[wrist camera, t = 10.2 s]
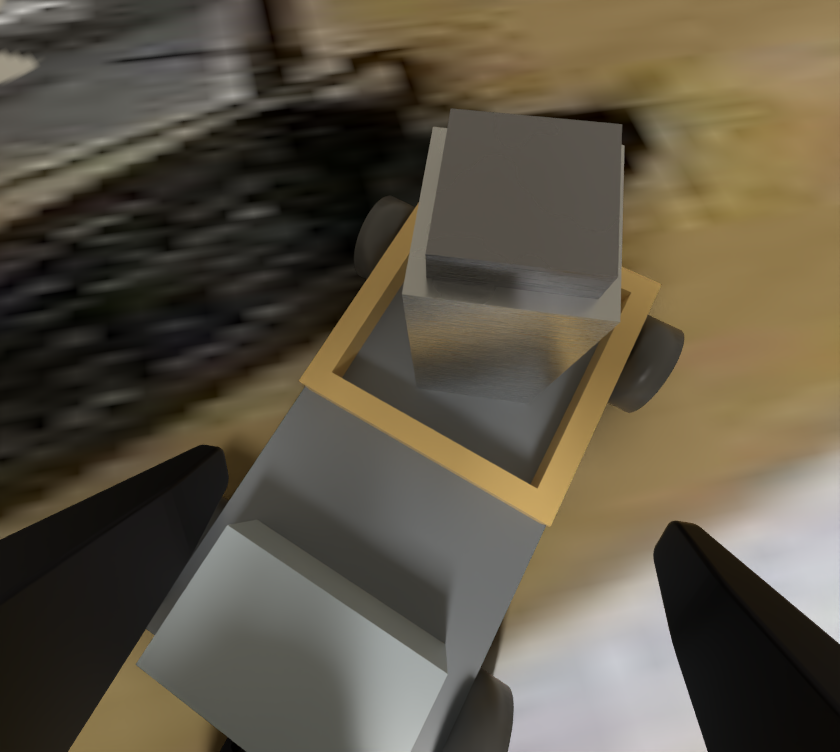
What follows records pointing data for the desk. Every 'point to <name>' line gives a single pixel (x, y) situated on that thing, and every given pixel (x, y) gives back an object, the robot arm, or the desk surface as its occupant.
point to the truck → (386, 534)
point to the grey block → (513, 252)
